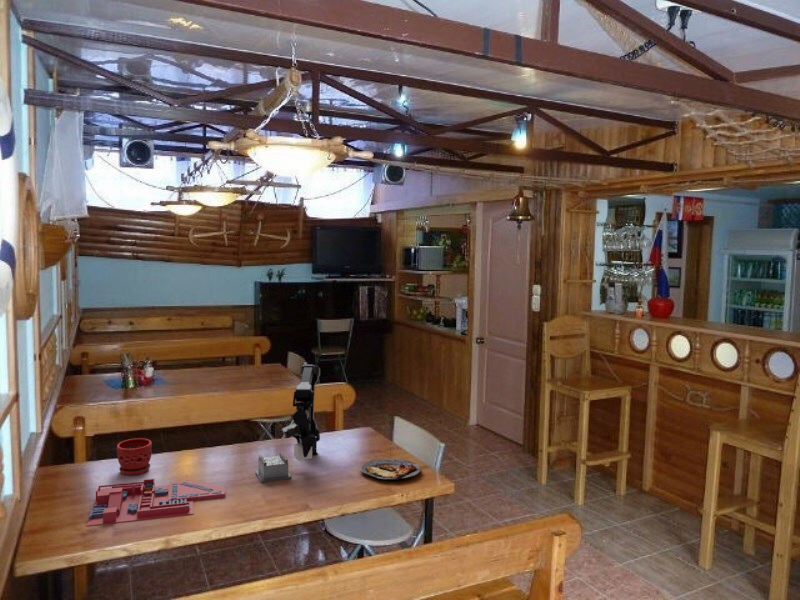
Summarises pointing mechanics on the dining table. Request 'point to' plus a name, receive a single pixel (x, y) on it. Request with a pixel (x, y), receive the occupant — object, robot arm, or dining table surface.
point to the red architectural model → (148, 501)
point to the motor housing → (272, 468)
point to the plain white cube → (301, 452)
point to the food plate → (390, 469)
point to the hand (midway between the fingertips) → (303, 454)
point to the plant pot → (134, 456)
